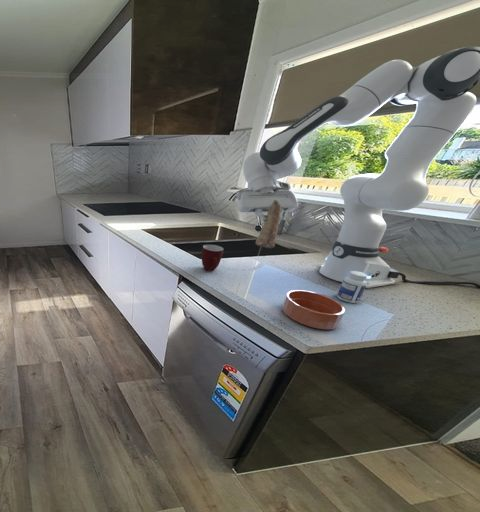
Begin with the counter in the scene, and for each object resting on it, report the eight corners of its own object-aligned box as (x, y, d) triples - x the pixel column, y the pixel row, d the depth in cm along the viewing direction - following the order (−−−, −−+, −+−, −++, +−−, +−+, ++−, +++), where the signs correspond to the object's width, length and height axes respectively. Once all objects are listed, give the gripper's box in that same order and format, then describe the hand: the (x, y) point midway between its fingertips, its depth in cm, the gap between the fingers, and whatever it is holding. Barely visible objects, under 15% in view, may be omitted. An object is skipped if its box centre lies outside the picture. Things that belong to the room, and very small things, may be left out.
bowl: (311, 304, 80) (316, 289, 78) (351, 330, 68) (358, 314, 66) (271, 304, 80) (276, 290, 78) (304, 331, 68) (311, 315, 66)
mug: (225, 276, 99) (230, 253, 95) (205, 276, 99) (209, 253, 96) (214, 265, 109) (218, 244, 105) (196, 265, 109) (200, 244, 105)
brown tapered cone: (251, 244, 97) (261, 250, 91) (259, 199, 89) (270, 203, 84) (268, 242, 97) (278, 248, 91) (277, 197, 89) (289, 201, 83)
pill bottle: (351, 295, 84) (362, 270, 80) (362, 304, 79) (375, 278, 76) (332, 294, 85) (343, 269, 82) (342, 302, 81) (354, 276, 77)
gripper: (239, 185, 92) (248, 216, 87) (294, 184, 91) (306, 215, 86) (231, 195, 98) (239, 225, 93) (283, 194, 97) (294, 224, 92)
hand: (272, 220), depth 89 cm, fingers closed on brown tapered cone, 4 cm apart
